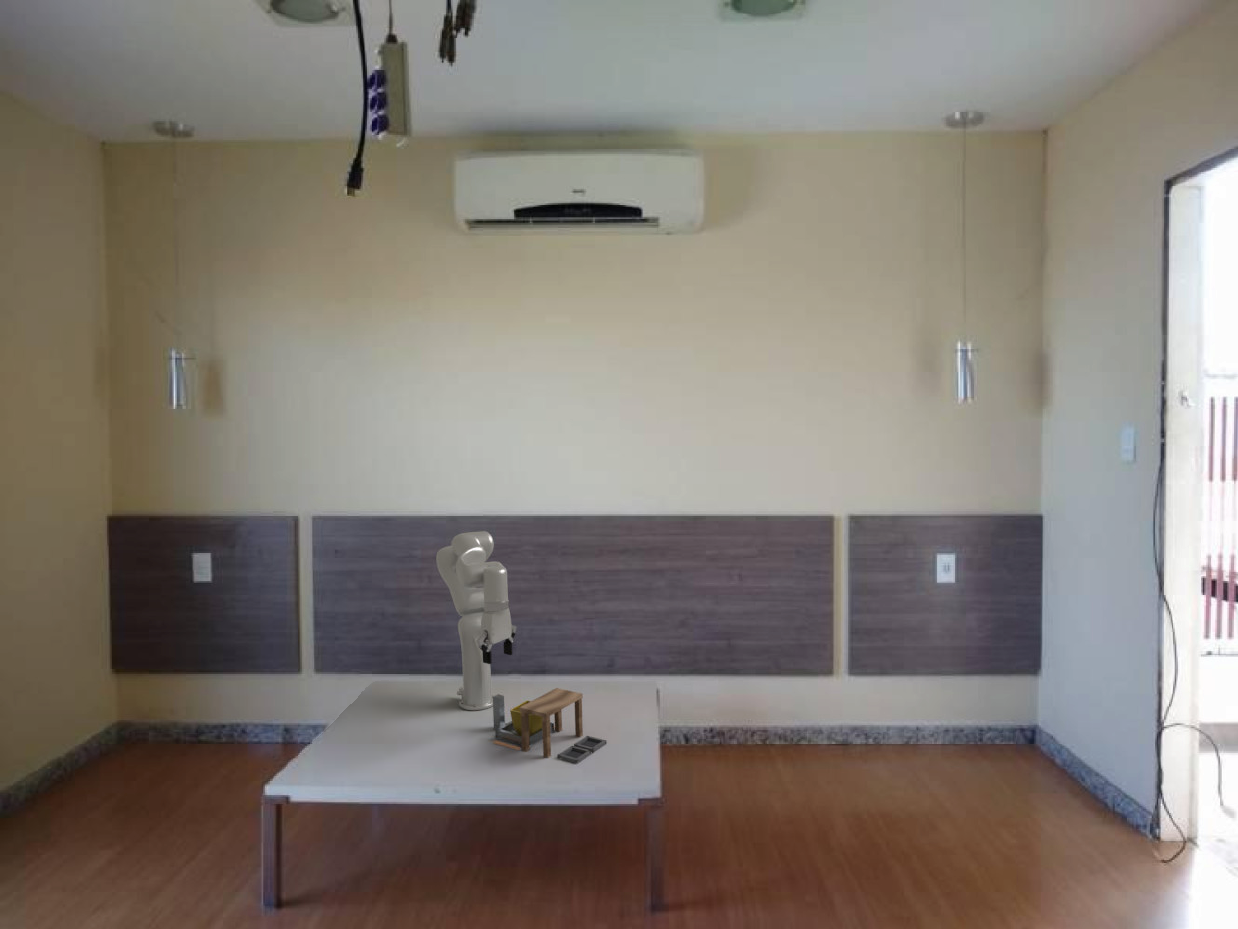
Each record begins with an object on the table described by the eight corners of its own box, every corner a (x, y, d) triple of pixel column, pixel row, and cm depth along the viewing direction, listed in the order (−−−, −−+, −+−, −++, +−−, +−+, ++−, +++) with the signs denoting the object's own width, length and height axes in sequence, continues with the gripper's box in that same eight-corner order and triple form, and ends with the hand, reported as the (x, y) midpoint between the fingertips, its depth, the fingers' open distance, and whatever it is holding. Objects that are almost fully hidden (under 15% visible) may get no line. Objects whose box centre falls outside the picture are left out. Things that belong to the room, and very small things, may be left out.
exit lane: (493, 742, 230) (493, 742, 230) (531, 721, 246) (531, 720, 246) (518, 750, 225) (518, 749, 225) (555, 728, 240) (555, 727, 240)
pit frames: (557, 758, 219) (557, 754, 219) (587, 738, 232) (587, 735, 232) (577, 763, 215) (577, 760, 215) (606, 743, 228) (606, 740, 228)
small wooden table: (521, 750, 225) (519, 707, 224) (557, 728, 240) (556, 688, 239) (547, 758, 219) (546, 713, 218) (583, 735, 234) (582, 693, 233)
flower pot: (533, 743, 229) (532, 714, 229) (510, 738, 234) (509, 709, 233) (550, 732, 237) (549, 704, 236) (527, 727, 241) (526, 700, 241)
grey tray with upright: (482, 734, 236) (481, 702, 236) (509, 719, 247) (508, 689, 246) (527, 746, 226) (526, 713, 226) (554, 731, 237) (553, 699, 237)
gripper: (505, 598, 248) (507, 649, 249) (468, 610, 234) (469, 664, 235) (523, 601, 244) (524, 653, 245) (485, 613, 230) (487, 669, 231)
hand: (497, 658), depth 240 cm, fingers open, 9 cm apart
